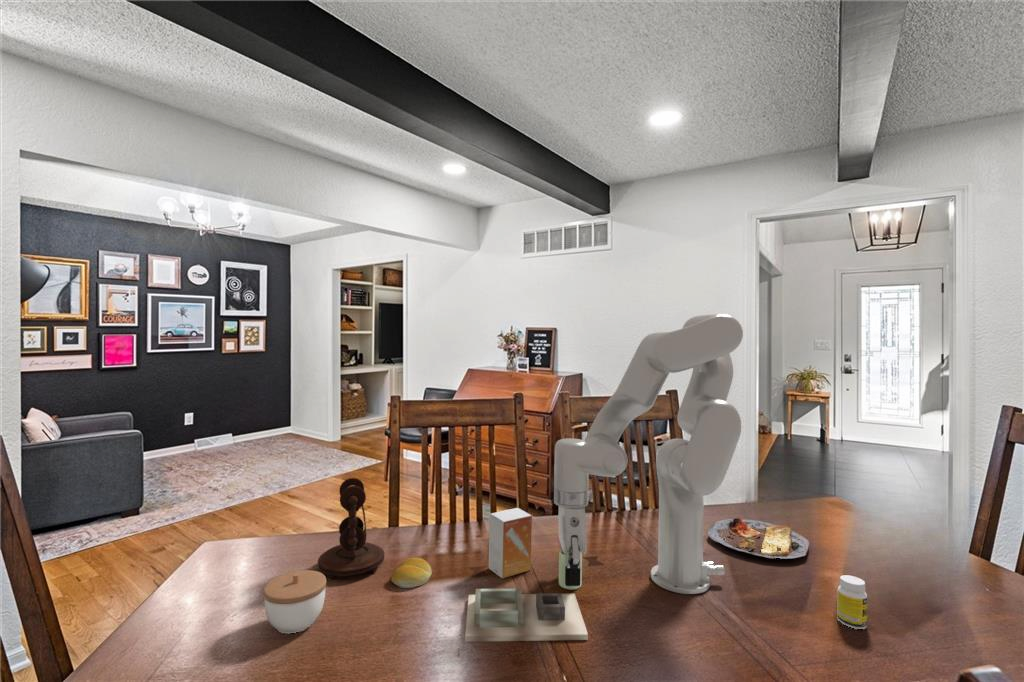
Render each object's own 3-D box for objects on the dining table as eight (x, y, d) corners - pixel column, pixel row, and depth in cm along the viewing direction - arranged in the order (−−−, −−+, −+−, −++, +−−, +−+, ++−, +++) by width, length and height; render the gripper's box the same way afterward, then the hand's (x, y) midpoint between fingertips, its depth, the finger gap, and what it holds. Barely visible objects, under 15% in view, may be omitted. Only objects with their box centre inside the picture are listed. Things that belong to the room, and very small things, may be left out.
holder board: (574, 598, 102) (574, 581, 102) (587, 639, 88) (588, 620, 88) (468, 599, 101) (468, 582, 101) (465, 641, 87) (465, 622, 87)
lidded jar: (281, 607, 98) (281, 560, 97) (334, 609, 97) (335, 562, 97) (251, 641, 87) (251, 588, 87) (311, 643, 87) (311, 590, 86)
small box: (502, 579, 110) (503, 521, 110) (487, 568, 115) (488, 513, 115) (531, 570, 114) (532, 514, 114) (516, 560, 120) (517, 506, 120)
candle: (556, 587, 107) (556, 549, 107) (561, 576, 112) (562, 540, 112) (578, 591, 105) (579, 553, 105) (583, 580, 110) (584, 544, 110)
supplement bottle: (867, 633, 91) (868, 588, 91) (837, 625, 94) (838, 581, 94) (865, 621, 95) (866, 578, 95) (836, 613, 98) (837, 571, 98)
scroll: (387, 576, 111) (388, 488, 111) (316, 587, 106) (317, 494, 106) (381, 549, 125) (381, 471, 124) (318, 558, 120) (319, 476, 119)
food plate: (722, 518, 149) (722, 507, 149) (812, 539, 135) (812, 526, 135) (699, 549, 128) (700, 536, 128) (802, 576, 115) (803, 562, 115)
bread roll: (386, 588, 106) (386, 569, 106) (402, 569, 115) (402, 551, 115) (422, 592, 105) (422, 573, 105) (436, 572, 113) (436, 555, 113)
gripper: (596, 509, 100) (595, 597, 100) (580, 484, 117) (579, 559, 117) (559, 509, 99) (558, 598, 100) (549, 484, 117) (548, 559, 117)
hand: (569, 576), depth 108 cm, fingers open, 6 cm apart
